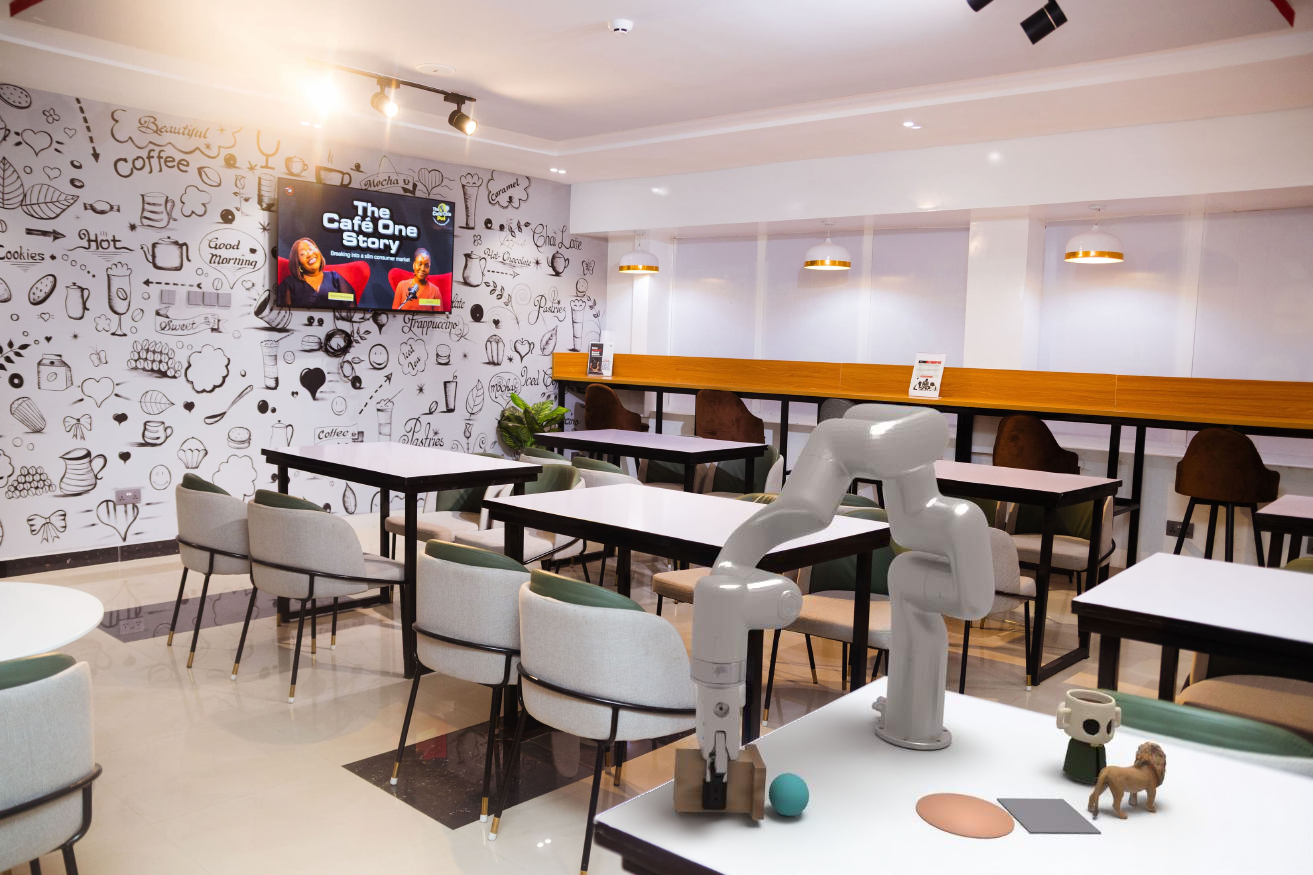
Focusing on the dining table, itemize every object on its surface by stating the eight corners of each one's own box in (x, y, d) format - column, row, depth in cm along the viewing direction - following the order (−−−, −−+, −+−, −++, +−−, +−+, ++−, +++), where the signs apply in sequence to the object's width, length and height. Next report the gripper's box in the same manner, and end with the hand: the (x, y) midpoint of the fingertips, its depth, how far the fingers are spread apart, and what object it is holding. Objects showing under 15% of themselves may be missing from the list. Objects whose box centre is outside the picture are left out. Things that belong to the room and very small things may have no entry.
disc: (896, 804, 131) (896, 803, 131) (959, 787, 137) (959, 786, 137) (970, 846, 120) (970, 845, 120) (1034, 825, 126) (1034, 824, 126)
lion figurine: (1137, 792, 139) (1142, 734, 138) (1172, 807, 134) (1177, 747, 134) (1077, 812, 131) (1081, 750, 131) (1112, 828, 127) (1117, 764, 126)
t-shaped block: (677, 818, 121) (679, 766, 121) (672, 791, 129) (674, 742, 129) (763, 819, 122) (766, 768, 122) (753, 792, 130) (755, 744, 130)
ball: (759, 809, 127) (761, 770, 127) (790, 801, 130) (792, 763, 130) (784, 826, 123) (787, 786, 122) (816, 818, 125) (818, 778, 125)
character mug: (1066, 789, 138) (1073, 705, 138) (1039, 769, 145) (1045, 689, 145) (1131, 787, 140) (1138, 703, 140) (1100, 767, 147) (1106, 688, 147)
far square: (1030, 833, 124) (1030, 831, 124) (996, 799, 134) (996, 798, 134) (1101, 833, 125) (1101, 832, 125) (1062, 800, 135) (1062, 798, 135)
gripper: (756, 690, 116) (749, 830, 117) (735, 650, 133) (729, 774, 134) (697, 688, 116) (690, 830, 117) (684, 649, 132) (678, 773, 134)
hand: (711, 799), depth 125 cm, fingers closed on t-shaped block, 4 cm apart
